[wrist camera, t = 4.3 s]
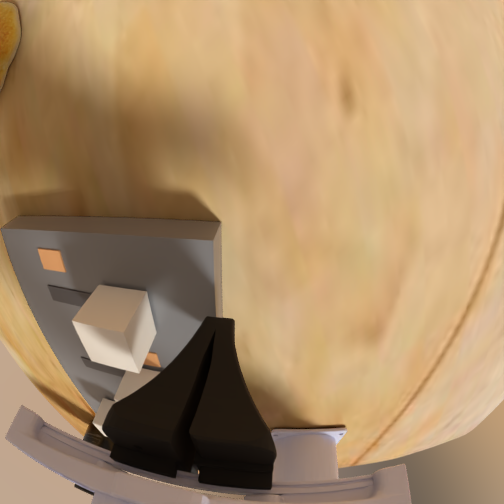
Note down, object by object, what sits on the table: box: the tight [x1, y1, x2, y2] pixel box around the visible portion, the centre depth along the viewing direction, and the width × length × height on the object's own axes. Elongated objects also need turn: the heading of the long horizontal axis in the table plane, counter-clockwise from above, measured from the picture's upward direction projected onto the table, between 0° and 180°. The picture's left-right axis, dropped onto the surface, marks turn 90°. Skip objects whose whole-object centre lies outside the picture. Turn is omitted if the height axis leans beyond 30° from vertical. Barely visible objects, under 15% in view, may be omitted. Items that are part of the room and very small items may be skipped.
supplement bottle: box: [75, 422, 114, 496], centre depth 26 cm, size 7×7×12 cm
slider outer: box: [72, 285, 157, 373], centre depth 13 cm, size 3×3×3 cm
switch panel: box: [0, 216, 223, 413], centre depth 19 cm, size 23×15×2 cm, turn 177°
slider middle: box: [114, 368, 160, 402], centre depth 16 cm, size 3×3×3 cm
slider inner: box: [92, 398, 116, 437], centre depth 20 cm, size 3×3×3 cm
